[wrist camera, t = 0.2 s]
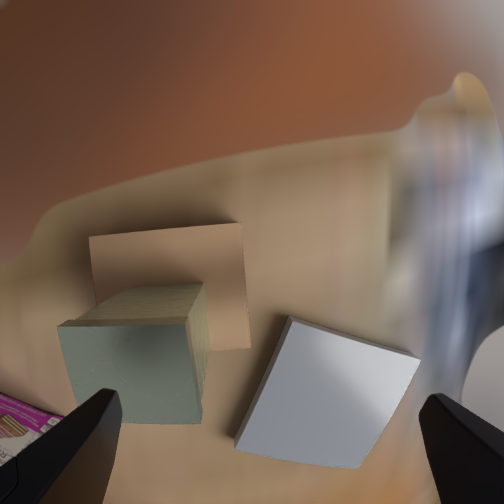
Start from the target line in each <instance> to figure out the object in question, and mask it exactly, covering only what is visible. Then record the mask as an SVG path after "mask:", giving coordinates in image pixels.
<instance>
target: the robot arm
mask: <svg viewBox="0 0 504 504" xmlns="http://www.w3.org/2000/svg"><path fill="white" fill-rule="evenodd" d="M122 416H123V411H122V406H121V402H120V398H119V394H118V392H117V391H116V390H113V389H108V388H102V389H100V390H99V391H98V392H96V393H95V394H94V395H93V396H91V397H90V398H89V399H88V400H86V401H85V402H84V403H82V404H81V405H80V406H79V407H77V408H76V409H75V410H73V411H72V412H71V413H70V414H68V415H67V416H66V417H64V418H63V419H62V420H61V421H59V422H58V423H57V424H55V425H54V426H53V427H51V428H50V429H49V430H48V431H46V432H45V433H44V434H42V435H41V436H40V437H38V438H37V439H36V440H35V441H33V442H32V443H31V444H29V445H28V446H27V447H25V448H24V449H23V450H21V451H20V452H19V453H18V454H16V456H13V457H12V458H11V459H9V460H8V461H7V462H6V463H4V464H3V465H1V466H0V504H102V503H103V500H104V496H105V493H106V489H107V486H108V482H109V479H110V475H111V472H112V469H113V465H114V460H115V455H116V449H117V443H118V438H119V432H120V427H121V422H122ZM419 422H420V427H421V431H422V435H423V440H424V444H425V449H426V453H427V458H428V461H429V464H430V468H431V471H432V474H433V477H434V480H435V484H436V487H437V491H438V494H439V497H440V501H441V504H504V432H503V431H501V430H499V429H498V428H496V427H495V426H493V425H491V424H490V423H488V422H487V421H485V420H483V419H481V418H480V417H479V416H477V415H476V414H474V413H472V412H470V411H469V410H468V409H466V408H465V407H463V406H461V405H460V404H458V403H457V402H455V401H454V400H452V399H450V398H449V397H447V396H446V395H444V394H443V393H436V394H431V395H430V396H429V397H428V398H427V400H426V402H425V403H424V405H423V407H422V409H421V410H420V412H419Z"/></svg>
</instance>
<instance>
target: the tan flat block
mask: <svg viewBox="0 0 504 504" xmlns="http://www.w3.org/2000/svg"><path fill="white" fill-rule="evenodd" d="M89 247H90V257H91V266H92V275H93V283H94V290H95V297H96V303H97V306H98V305H100V304H101V303H103V302H105V301H106V300H108V299H110V298H111V297H113V296H115V295H116V294H118V293H120V292H122V291H123V290H125V289H127V288H135V287H151V286H166V285H181V284H195V283H204V288H205V298H206V308H207V317H208V326H209V335H210V343H211V344H210V350H209V351H219V350H233V349H245V348H251V342H250V330H249V318H248V305H247V293H246V280H245V268H244V255H243V242H242V229H241V223H230V224H217V225H205V226H194V227H182V228H171V229H160V230H150V231H140V232H130V233H120V234H111V235H101V236H92V237H89Z"/></svg>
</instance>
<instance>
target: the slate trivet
mask: <svg viewBox="0 0 504 504" xmlns="http://www.w3.org/2000/svg"><path fill="white" fill-rule="evenodd" d="M420 361H421V359H419V358H418V357H416V356H415V355H414V354H412V353H408V352H405V351H401V350H398V349H394V348H391V347H388V346H384V345H381V344H377V343H374V342H371V341H367V340H364V339H361V338H358V337H354V336H351V335H348V334H345V333H342V332H338V331H335V330H332V329H329V328H326V327H323V326H320V325H317V324H313V323H310V322H307V321H304V320H301V319H298V318H295V317H292V316H289V317H288V319H287V322H286V324H285V327H284V329H283V331H282V334H281V336H280V339H279V341H278V343H277V346H276V348H275V350H274V353H273V355H272V357H271V360H270V362H269V364H268V366H267V369H266V371H265V373H264V376H263V378H262V380H261V382H260V385H259V387H258V389H257V391H256V393H255V396H254V398H253V400H252V402H251V404H250V407H249V409H248V411H247V413H246V415H245V417H244V419H243V422H242V424H241V426H240V428H239V430H238V432H237V434H236V436H235V438H234V450H238V451H243V452H247V453H251V454H256V455H261V456H266V457H271V458H276V459H281V460H287V461H293V462H300V463H306V464H314V465H321V466H330V467H340V468H352V469H358V467H359V466H360V464H361V463H362V462H363V460H364V459H365V457H366V456H367V454H368V453H369V451H370V450H371V448H372V447H373V445H374V444H375V442H376V440H377V439H378V437H379V436H380V434H381V432H382V431H383V429H384V428H385V426H386V424H387V423H388V421H389V419H390V418H391V416H392V414H393V412H394V411H395V409H396V407H397V405H398V404H399V402H400V400H401V398H402V396H403V394H404V392H405V391H406V389H407V387H408V385H409V383H410V381H411V379H412V377H413V375H414V373H415V371H416V369H417V367H418V365H419V363H420Z"/></svg>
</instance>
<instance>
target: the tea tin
mask: <svg viewBox="0 0 504 504" xmlns="http://www.w3.org/2000/svg"><path fill="white" fill-rule="evenodd" d="M57 330H58V335H59V339H60V344H61V348H62V352H63V356H64V360H65V364H66V368H67V372H68V375H69V379H70V382H71V386H72V389H73V392H74V396H75V399H76V402H77V405H78V407H79V406H80V405H81V404H82V403H84V402H85V401H86V400H88V399H89V398H90V397H91V396H93V395H94V394H95V393H96V392H98V391H99V390H100V389H102V388H108V389H113V390H116V391H117V392H118V394H119V398H120V402H121V406H122V411H123V416H122V422H121V423H137V424H201V420H202V412H203V410H202V404H201V399H202V393H203V387H204V381H205V374H206V368H207V362H208V356H209V350H210V344H211V343H210V335H209V326H208V317H207V308H206V298H205V288H204V283H195V284H181V285H166V286H151V287H135V288H127V289H125V290H123V291H122V292H120V293H118V294H116V295H115V296H113V297H111V298H110V299H108V300H106V301H105V302H103V303H101V304H100V305H98V306H96V307H95V308H93V309H91V310H90V311H88V312H86V313H85V314H83V315H82V316H80V317H78V318H77V319H75V320H67V321H65V322H64V323H62V324H60V325H59V326H57Z"/></svg>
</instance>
